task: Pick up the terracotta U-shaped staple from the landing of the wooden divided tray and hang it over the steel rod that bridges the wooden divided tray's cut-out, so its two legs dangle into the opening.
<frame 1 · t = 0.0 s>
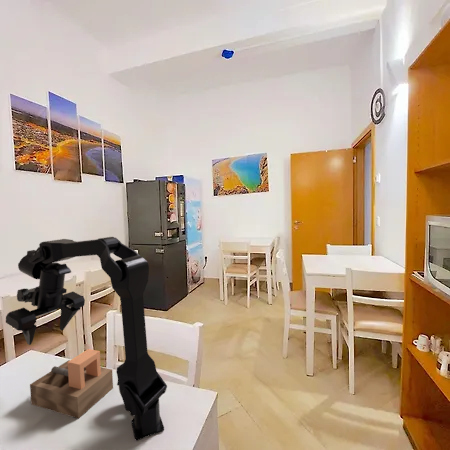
hand: (46, 336, 79), 15 cm above the table, tool pointing down, fingers open, 9 cm apart
wooden divided tray: (73, 395, 78), on the table
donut: (136, 406, 73), on the table, touching arm
staple: (85, 379, 76), point 5 cm above the table, touching wooden divided tray
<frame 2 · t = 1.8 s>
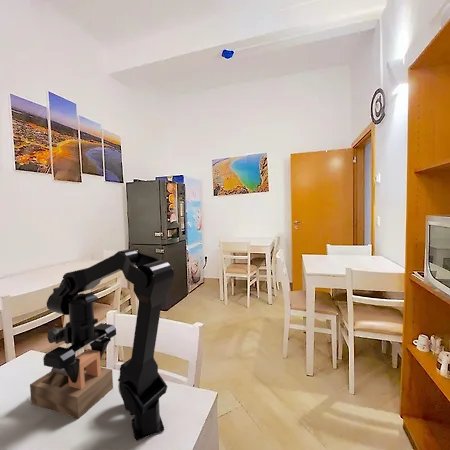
hand: (85, 374, 76), 7 cm above the table, tool pointing down, fingers closed on staple, 7 cm apart
staple: (85, 379, 76), point 5 cm above the table, touching gripper, wooden divided tray
everything else where it was.
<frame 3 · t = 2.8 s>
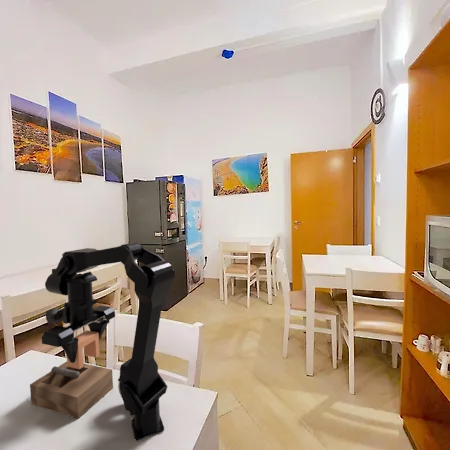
hand: (83, 355, 75), 12 cm above the table, tool pointing down, fingers closed on staple, 7 cm apart
staple: (84, 360, 75), point 11 cm above the table, touching gripper
everything else where it was.
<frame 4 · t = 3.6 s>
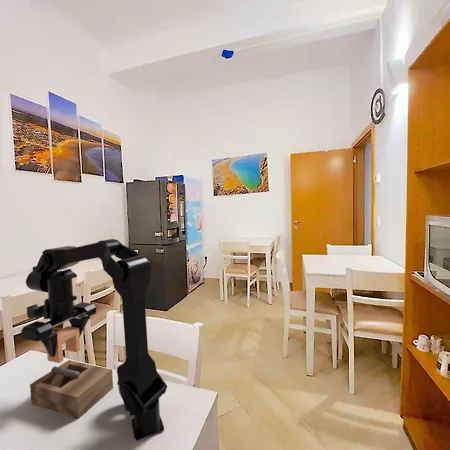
hand: (64, 349, 77), 13 cm above the table, tool pointing down, fingers closed on staple, 7 cm apart
staple: (64, 355, 78), point 11 cm above the table, touching gripper
everything else where it was.
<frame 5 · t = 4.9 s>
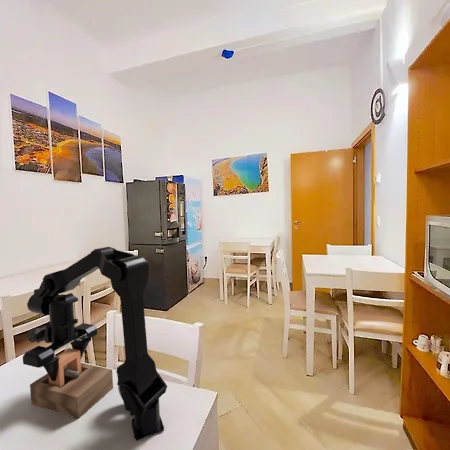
hand: (65, 372, 78), 6 cm above the table, tool pointing down, fingers closed on staple, 7 cm apart
staple: (65, 378, 78), point 5 cm above the table, touching gripper
everything else where it was.
when the fingers open (6 cm above the table, at t = 5.6 s): staple drops 3 cm, resting on wooden divided tray.
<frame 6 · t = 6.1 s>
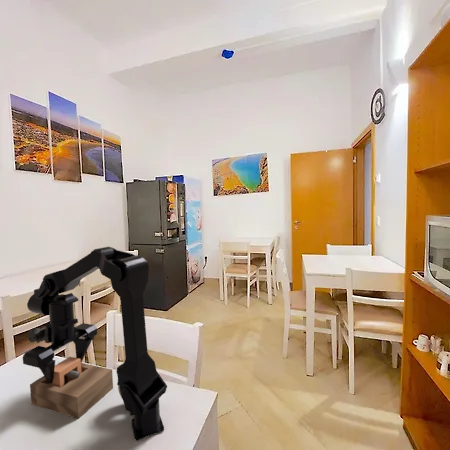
hand: (65, 372, 78), 6 cm above the table, tool pointing down, fingers open, 9 cm apart
staple: (66, 386, 78), point 2 cm above the table, touching wooden divided tray
everything else where it was.
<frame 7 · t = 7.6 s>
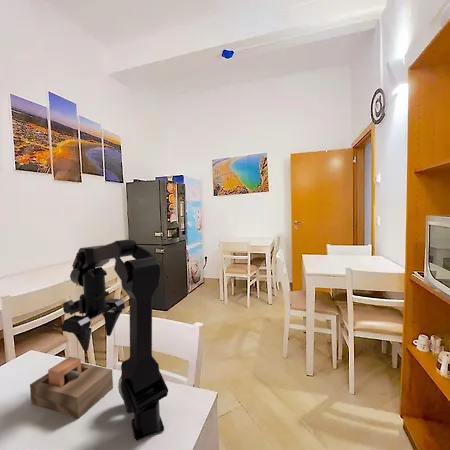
hand: (97, 342, 82), 12 cm above the table, tool pointing down, fingers open, 9 cm apart
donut: (137, 406, 73), on the table
everything else where it was.
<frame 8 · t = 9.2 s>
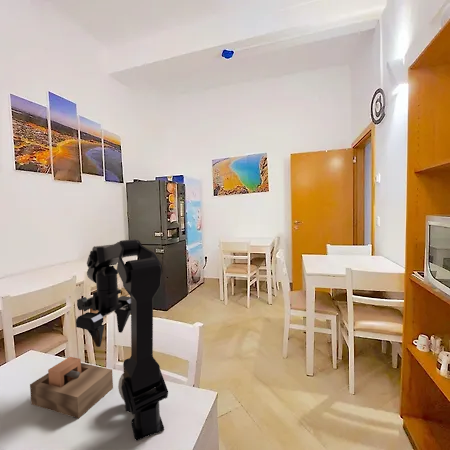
hand: (109, 339, 84), 12 cm above the table, tool pointing down, fingers open, 9 cm apart
nothing on the table moved.
at the end: staple 0.1 cm from the target spot on the wooden divided tray, point 2.1 cm above the wooden divided tray's base; staple touching wooden divided tray; staple tilted 0° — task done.
